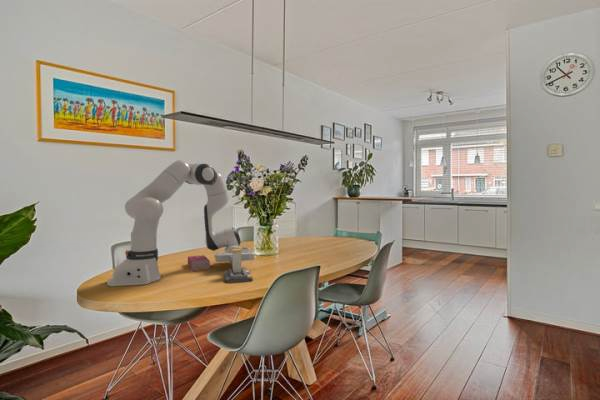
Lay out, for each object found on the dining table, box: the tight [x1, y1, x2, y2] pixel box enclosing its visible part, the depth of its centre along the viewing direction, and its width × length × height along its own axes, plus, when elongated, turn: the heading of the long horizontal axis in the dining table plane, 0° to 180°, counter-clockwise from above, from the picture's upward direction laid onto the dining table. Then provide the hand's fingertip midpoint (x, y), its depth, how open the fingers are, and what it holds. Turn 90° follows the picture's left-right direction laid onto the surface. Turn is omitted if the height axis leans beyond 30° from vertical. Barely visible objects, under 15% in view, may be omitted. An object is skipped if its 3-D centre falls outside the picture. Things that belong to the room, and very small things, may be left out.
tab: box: [231, 249, 242, 273], centre depth 175 cm, size 4×4×11 cm
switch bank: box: [223, 267, 253, 283], centre depth 171 cm, size 12×16×3 cm
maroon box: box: [187, 254, 211, 271], centre depth 195 cm, size 9×5×20 cm
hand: (236, 259), depth 178 cm, fingers closed
